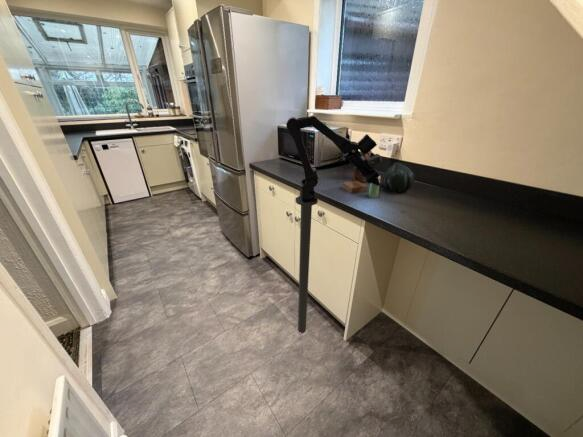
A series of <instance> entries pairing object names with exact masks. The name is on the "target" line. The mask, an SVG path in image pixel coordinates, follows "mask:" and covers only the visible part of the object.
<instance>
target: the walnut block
mask: <svg viewBox="0 0 583 437" xmlns="http://www.w3.org/2000/svg"><path fill="white" fill-rule="evenodd" d="M341 186H342V189H343V190H345V191H346V192H348V193H349V194H351V195H352V194H361V193H366V192H367V188H368V186H367V185H366V184H363V182H358V181H354V180H353V181H346V182H345V181H344V182H342V185H341Z"/></svg>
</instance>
